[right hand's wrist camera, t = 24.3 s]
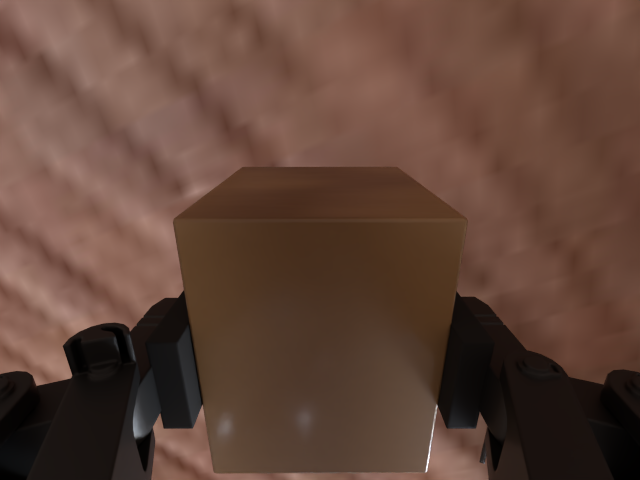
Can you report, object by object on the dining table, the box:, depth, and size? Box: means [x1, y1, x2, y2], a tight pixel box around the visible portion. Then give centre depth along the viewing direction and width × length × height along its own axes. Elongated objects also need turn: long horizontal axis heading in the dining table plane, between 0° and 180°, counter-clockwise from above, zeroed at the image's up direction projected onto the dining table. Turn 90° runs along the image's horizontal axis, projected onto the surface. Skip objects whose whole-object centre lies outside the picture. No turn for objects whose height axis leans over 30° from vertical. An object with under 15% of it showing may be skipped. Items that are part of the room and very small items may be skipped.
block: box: [173, 167, 468, 473], centre depth 12 cm, size 7×8×7 cm
